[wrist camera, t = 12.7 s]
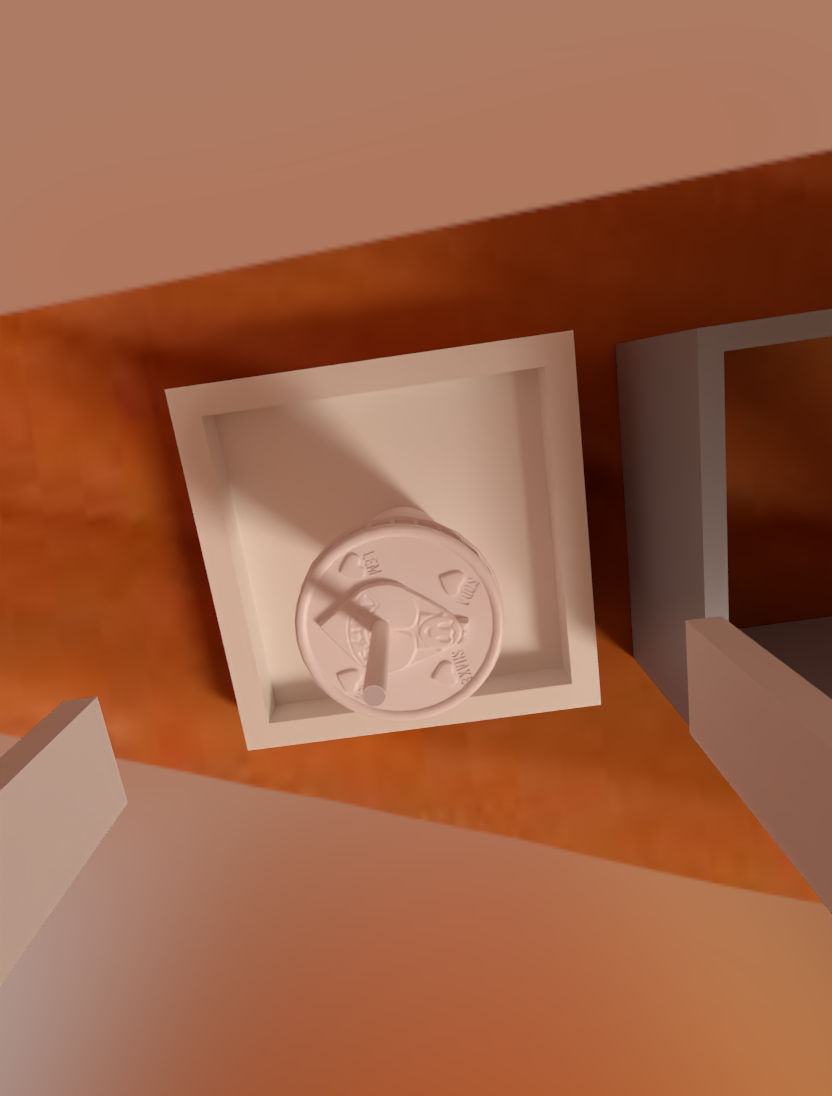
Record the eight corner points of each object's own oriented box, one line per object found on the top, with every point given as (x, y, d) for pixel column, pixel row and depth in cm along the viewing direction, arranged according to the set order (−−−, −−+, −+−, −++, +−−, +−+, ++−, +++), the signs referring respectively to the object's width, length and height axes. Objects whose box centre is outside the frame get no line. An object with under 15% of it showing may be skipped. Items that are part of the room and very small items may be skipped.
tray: (557, 335, 27) (573, 330, 24) (584, 677, 31) (601, 704, 28) (187, 389, 27) (164, 389, 25) (261, 720, 31) (247, 750, 29)
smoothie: (331, 471, 27) (257, 556, 14) (480, 479, 28) (551, 570, 14) (329, 612, 29) (260, 812, 15) (469, 618, 29) (523, 821, 16)
